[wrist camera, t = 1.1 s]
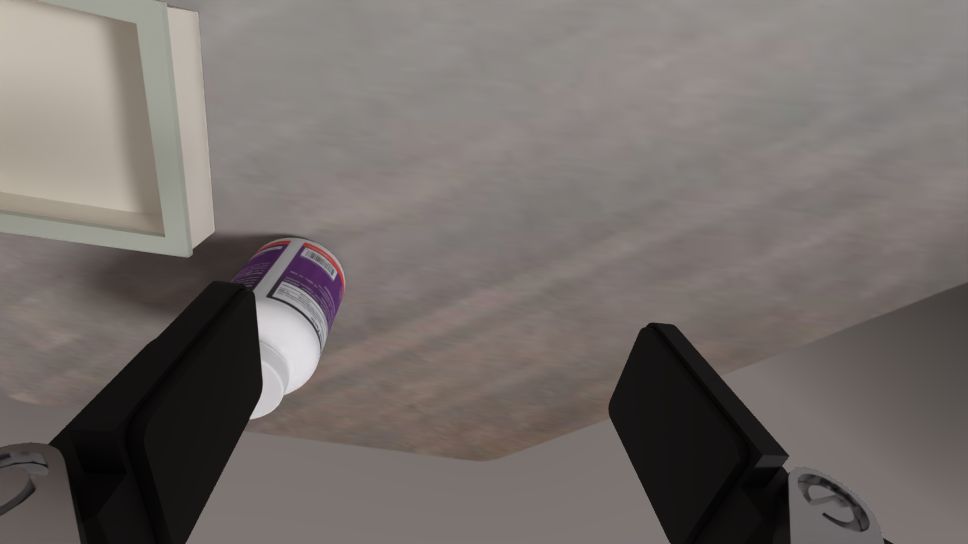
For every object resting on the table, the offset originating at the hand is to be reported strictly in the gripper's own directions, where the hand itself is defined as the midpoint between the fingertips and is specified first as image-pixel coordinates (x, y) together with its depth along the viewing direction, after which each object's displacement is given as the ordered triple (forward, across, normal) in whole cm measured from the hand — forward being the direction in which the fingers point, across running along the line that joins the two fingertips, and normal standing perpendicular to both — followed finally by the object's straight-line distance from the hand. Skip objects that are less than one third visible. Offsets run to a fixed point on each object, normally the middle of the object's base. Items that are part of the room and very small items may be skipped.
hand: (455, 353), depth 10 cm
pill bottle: (+26, +11, +13) cm, 31 cm away
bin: (+26, +26, +2) cm, 37 cm away
